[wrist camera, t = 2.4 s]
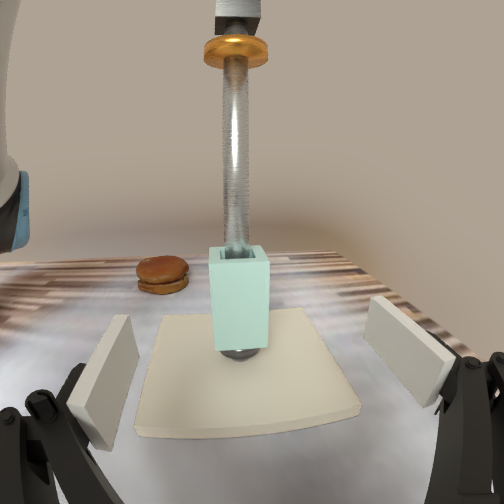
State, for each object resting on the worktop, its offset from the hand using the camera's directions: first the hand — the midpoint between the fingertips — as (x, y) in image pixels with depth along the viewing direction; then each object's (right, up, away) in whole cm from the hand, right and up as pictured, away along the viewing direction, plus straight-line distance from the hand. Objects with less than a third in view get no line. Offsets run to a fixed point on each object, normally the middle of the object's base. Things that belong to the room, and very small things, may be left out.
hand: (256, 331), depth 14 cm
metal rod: (-1, -6, +12) cm, 14 cm away
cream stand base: (-1, -7, +12) cm, 15 cm away
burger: (-16, -2, +33) cm, 37 cm away
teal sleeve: (-1, -4, +11) cm, 12 cm away
